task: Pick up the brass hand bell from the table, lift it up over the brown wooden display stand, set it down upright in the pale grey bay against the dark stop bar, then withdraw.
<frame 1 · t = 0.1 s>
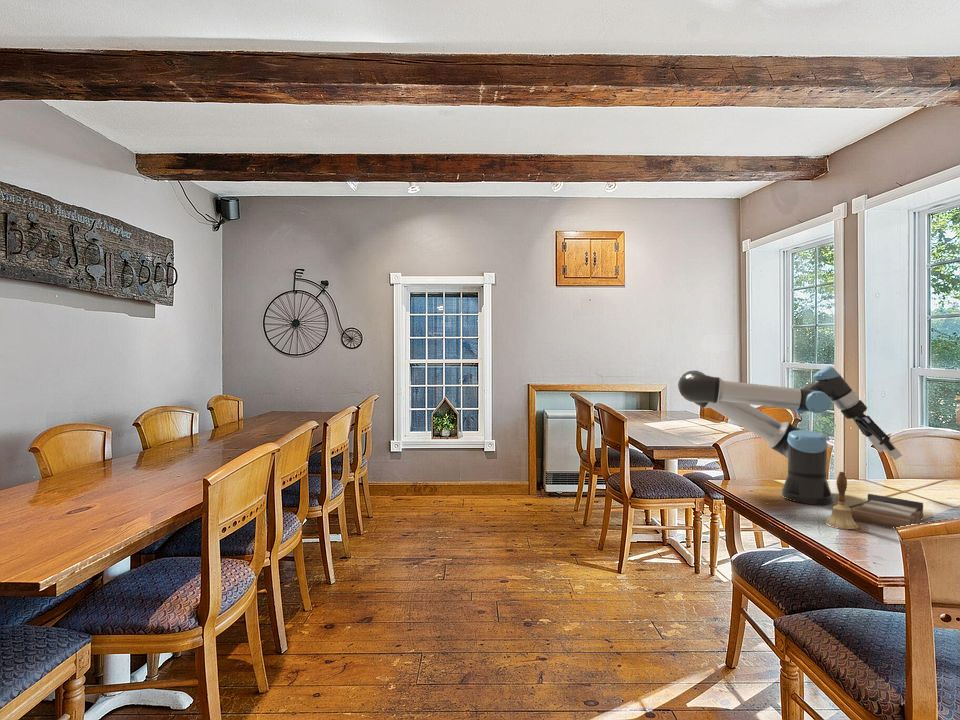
hand: (890, 454, 190), 15 cm above the table, tool tilted 35°, fingers open, 13 cm apart
hand bell: (841, 526, 159), on the table
brown wooden display stand: (887, 519, 165), on the table
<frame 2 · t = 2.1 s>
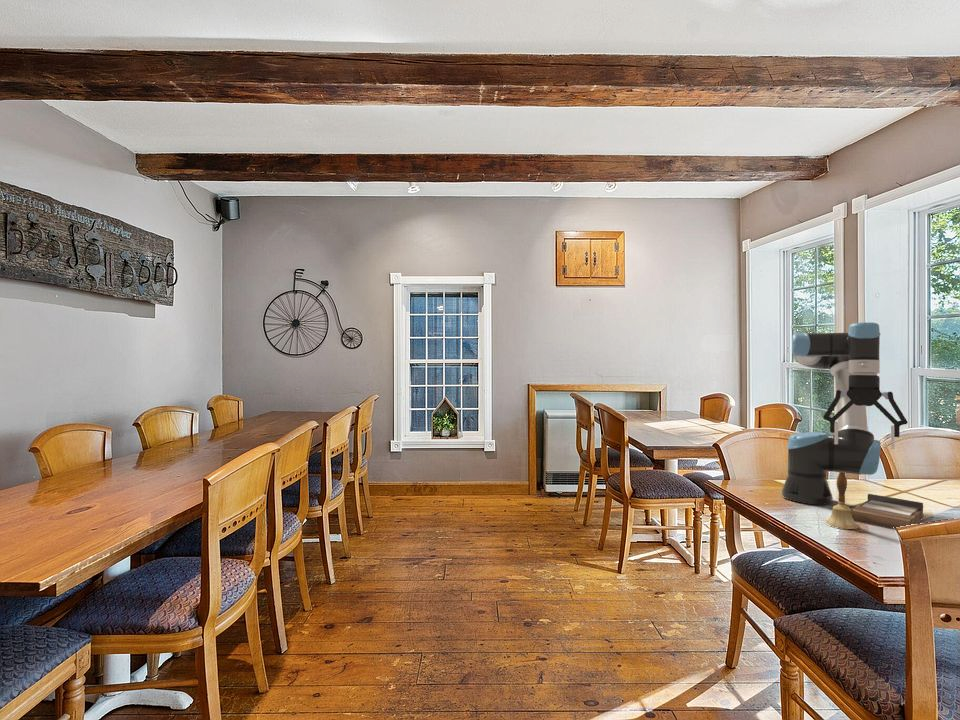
hand: (863, 446, 158), 24 cm above the table, tool pointing down, fingers open, 13 cm apart
nothing on the table moved.
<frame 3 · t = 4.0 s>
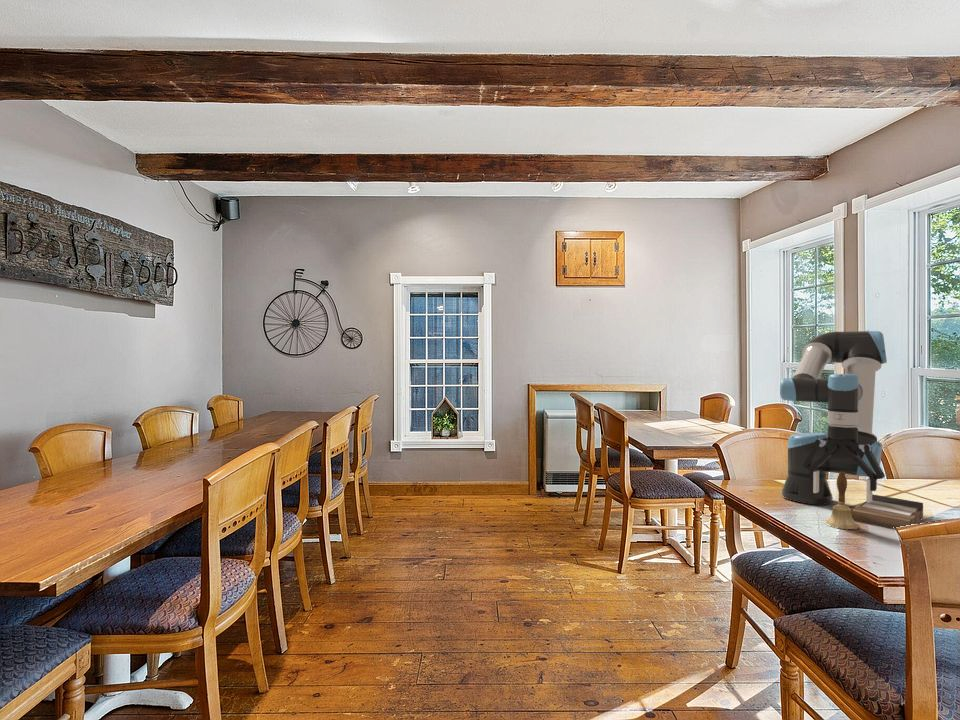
hand: (841, 496, 159), 9 cm above the table, tool pointing down, fingers open, 13 cm apart
nothing on the table moved.
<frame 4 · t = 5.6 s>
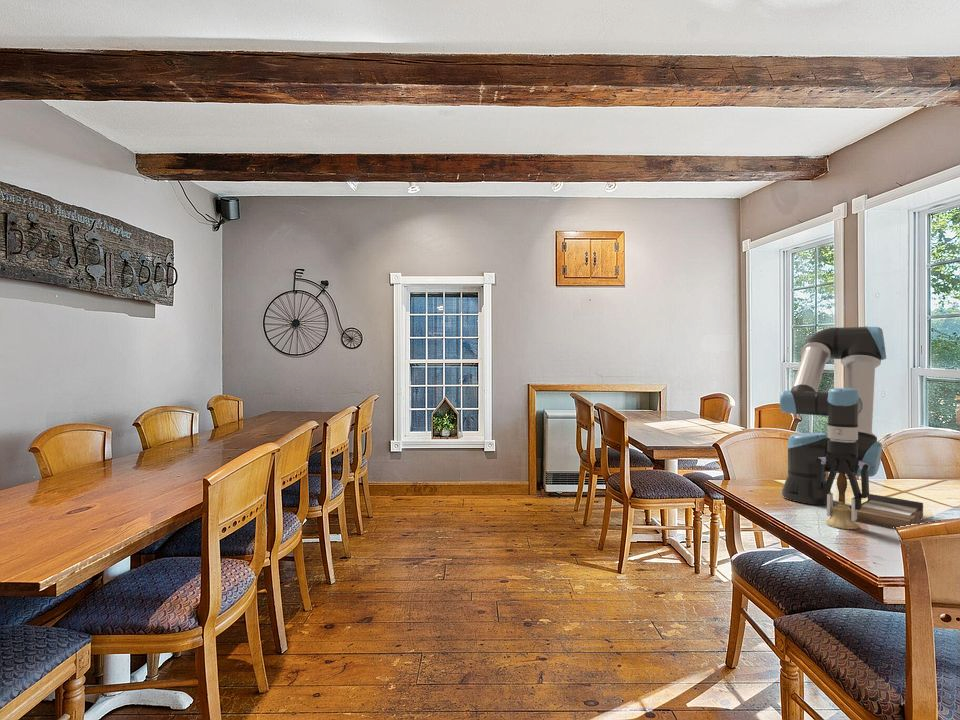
hand: (841, 517, 159), 2 cm above the table, tool pointing down, fingers closed on hand bell, 6 cm apart
hand bell: (841, 526, 159), on the table, touching gripper
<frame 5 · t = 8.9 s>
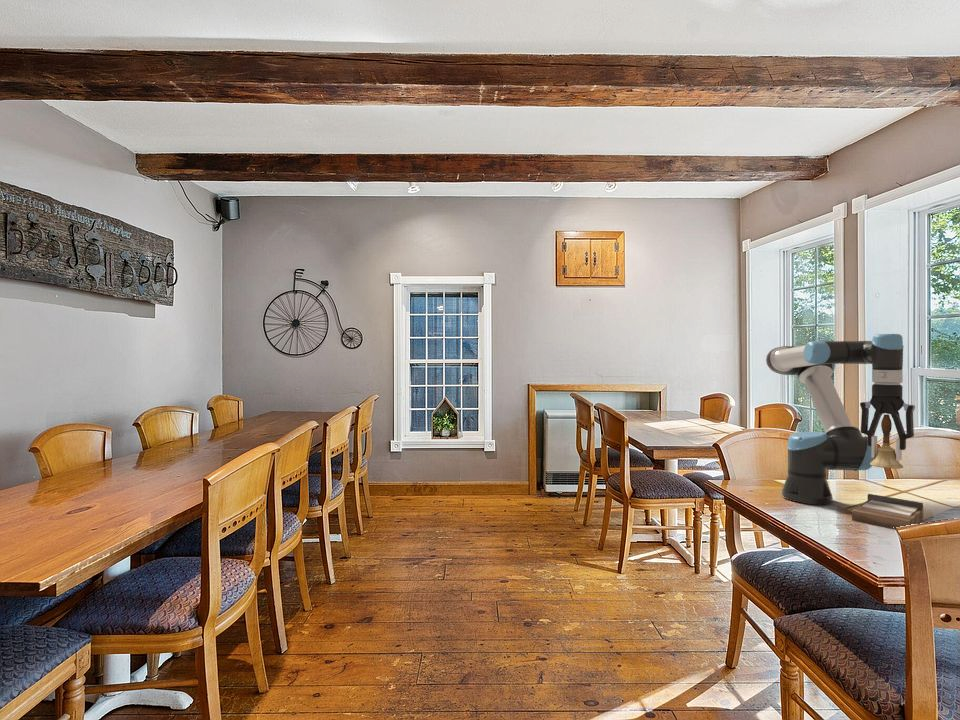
hand: (886, 458, 165), 19 cm above the table, tool pointing down, fingers closed on hand bell, 5 cm apart
hand bell: (886, 466, 165), point 16 cm above the table, touching gripper
when the fingers open (7 cm above the table, at t = 12.0 s): hand bell drops 1 cm, resting on brown wooden display stand.
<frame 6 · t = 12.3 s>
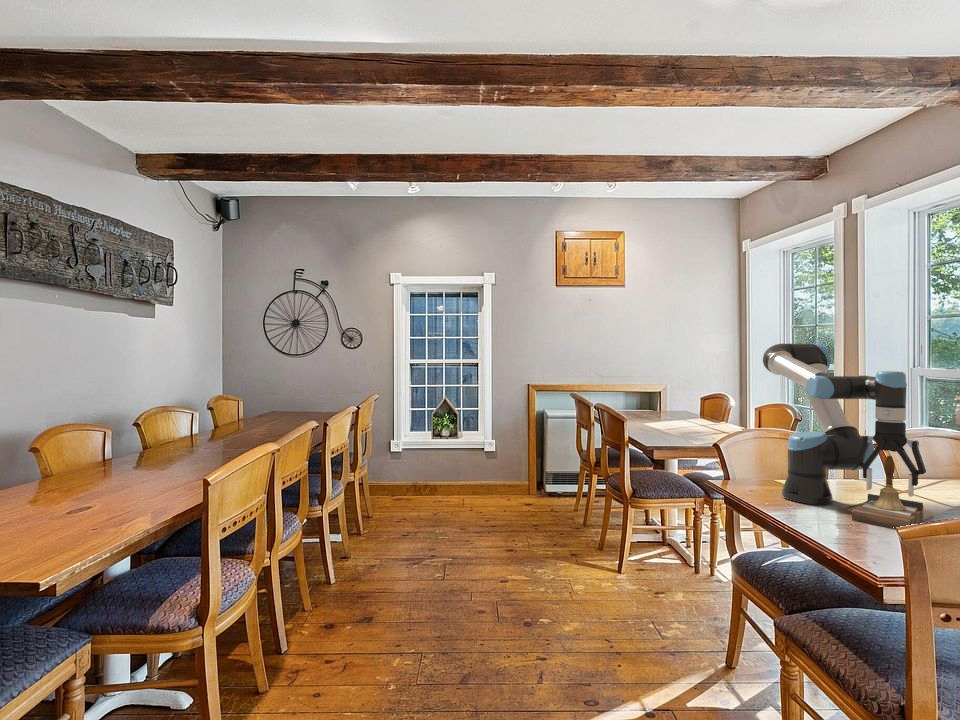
hand: (889, 492, 166), 8 cm above the table, tool pointing down, fingers open, 10 cm apart
hand bell: (889, 507, 166), point 3 cm above the table, touching brown wooden display stand
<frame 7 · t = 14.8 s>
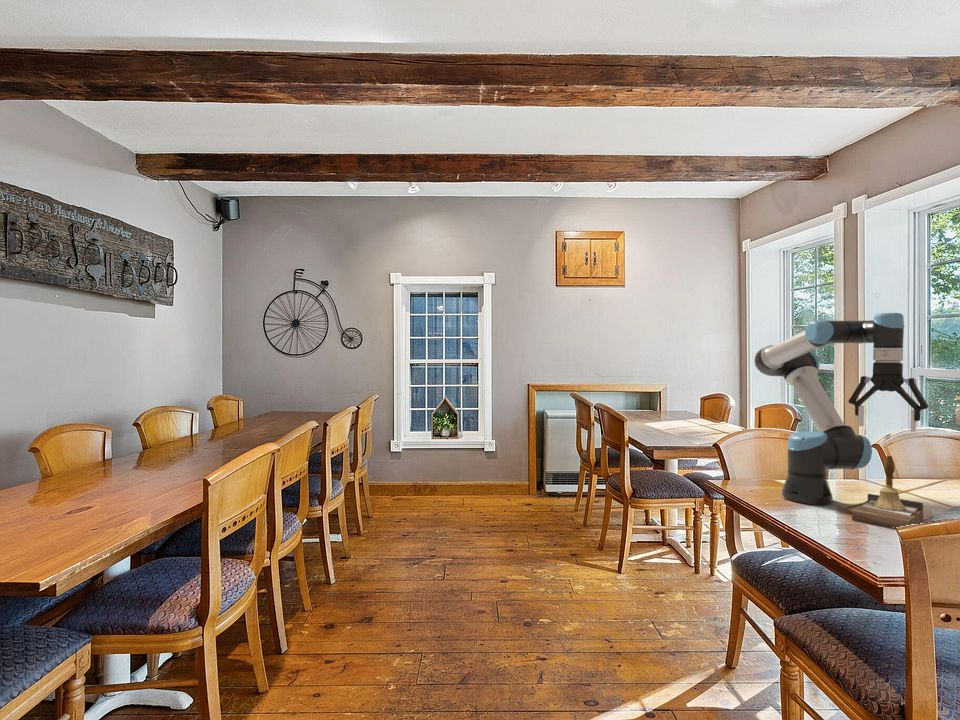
hand: (886, 428, 170), 27 cm above the table, tool pointing down, fingers open, 13 cm apart
nothing on the table moved.
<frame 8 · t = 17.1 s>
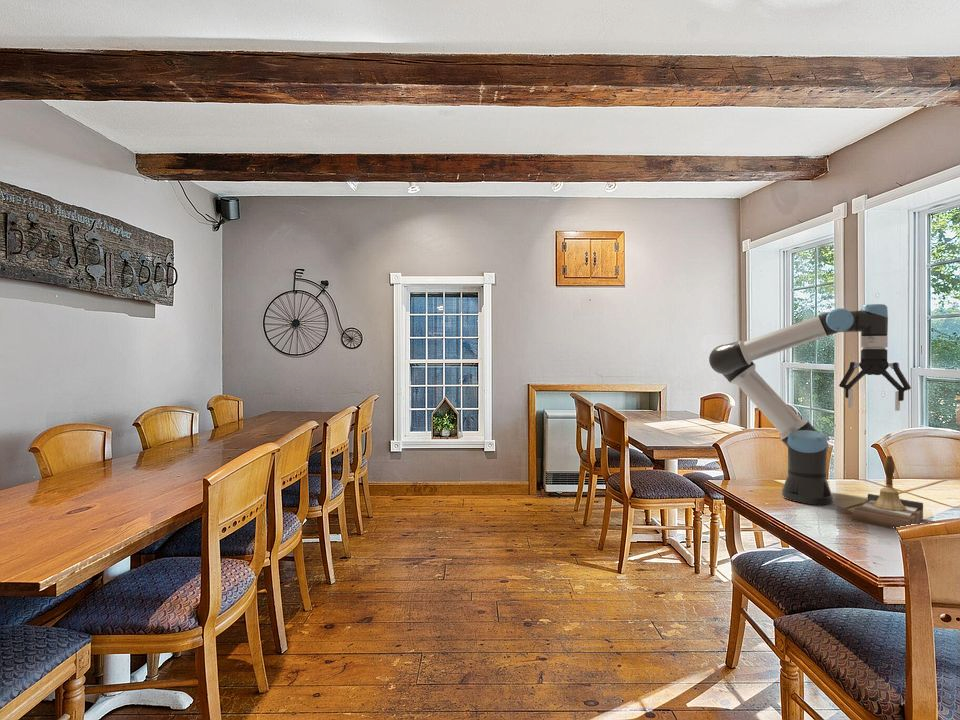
hand: (873, 409, 187), 32 cm above the table, tool pointing down, fingers open, 13 cm apart
nothing on the table moved.
at the end: hand bell inside the target area on the brown wooden display stand (0.0 cm from its centre), point 3.2 cm above the brown wooden display stand's base; hand bell tilted 0°; the gripper is holding nothing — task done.
